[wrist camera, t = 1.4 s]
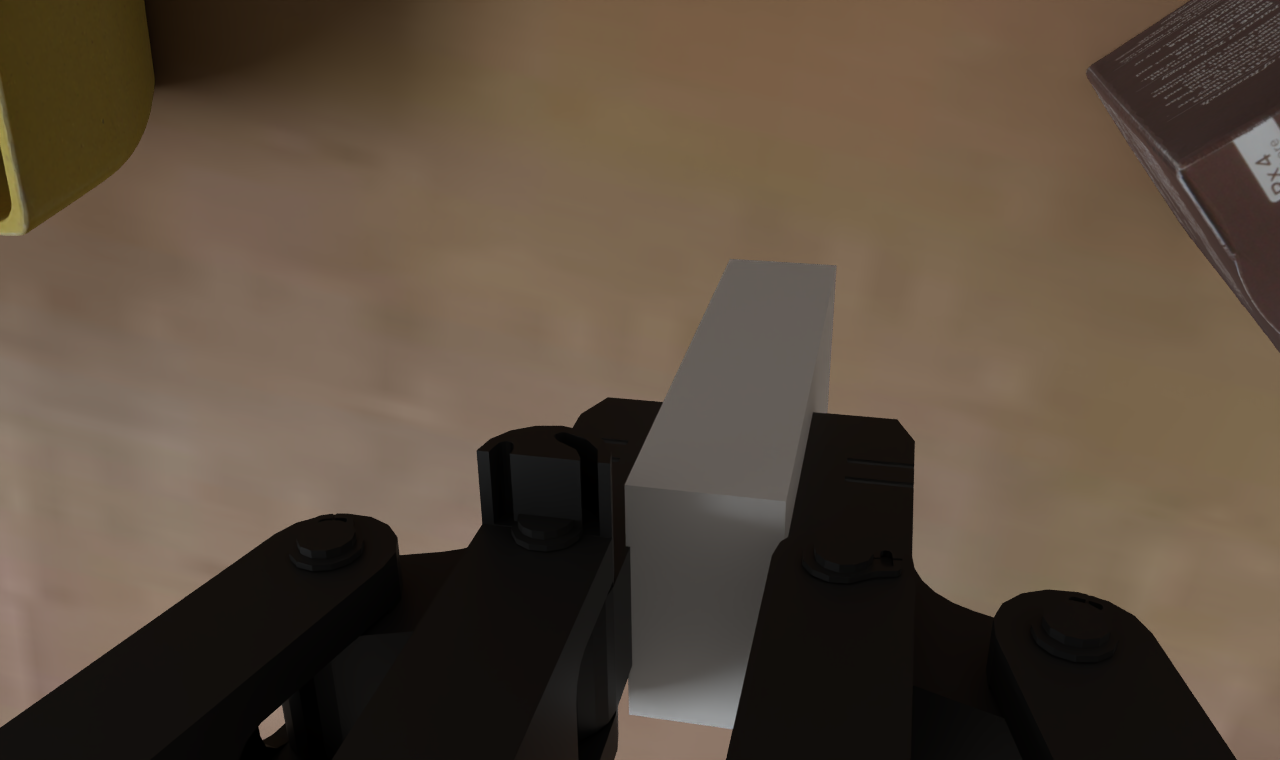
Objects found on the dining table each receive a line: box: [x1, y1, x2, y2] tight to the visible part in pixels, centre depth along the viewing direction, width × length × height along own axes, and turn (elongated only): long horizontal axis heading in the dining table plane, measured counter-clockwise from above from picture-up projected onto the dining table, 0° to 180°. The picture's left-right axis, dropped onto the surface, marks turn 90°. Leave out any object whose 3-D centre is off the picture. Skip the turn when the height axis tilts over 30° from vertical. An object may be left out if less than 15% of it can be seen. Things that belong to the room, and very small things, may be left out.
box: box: [1086, 0, 1280, 352], centre depth 26 cm, size 6×4×12 cm
